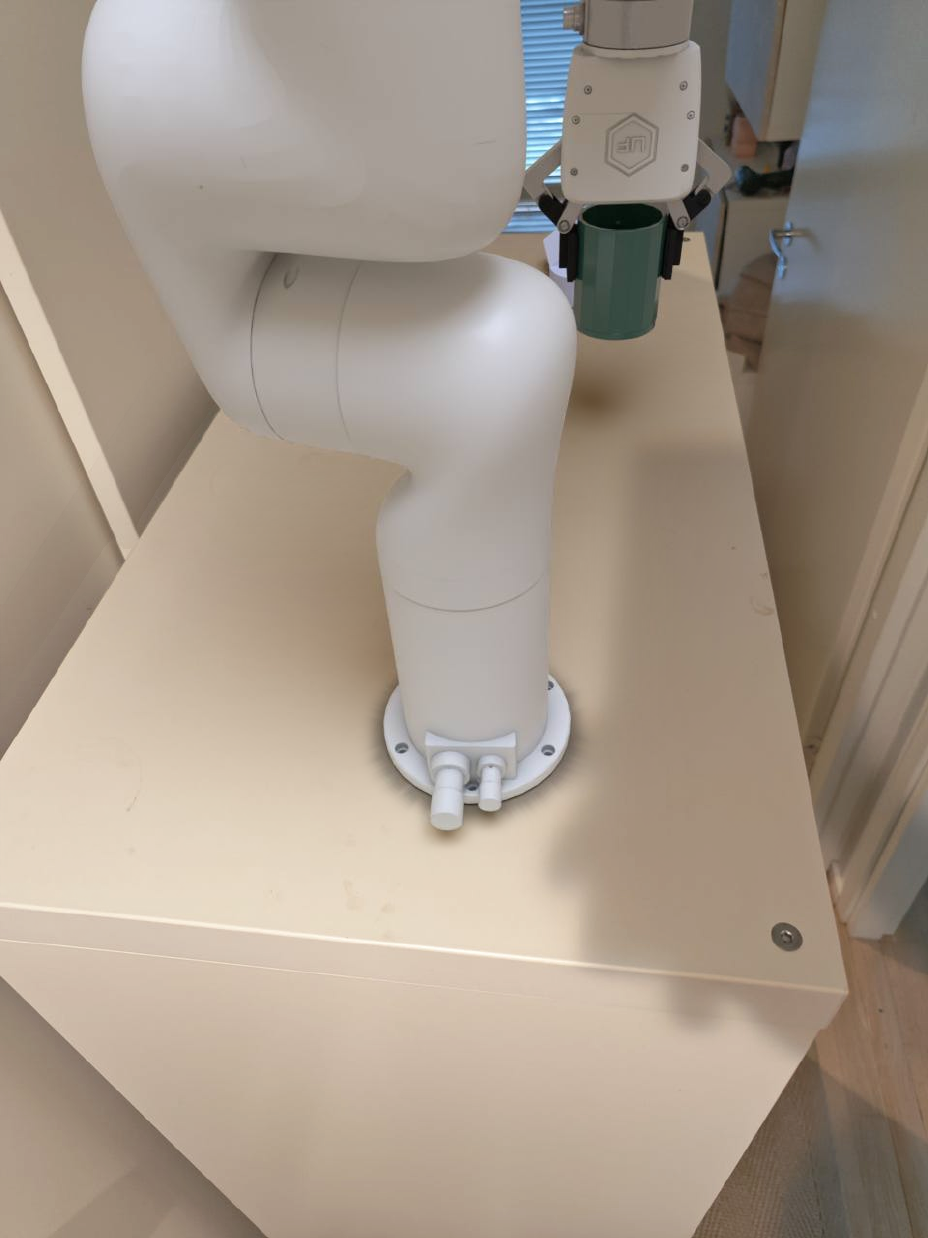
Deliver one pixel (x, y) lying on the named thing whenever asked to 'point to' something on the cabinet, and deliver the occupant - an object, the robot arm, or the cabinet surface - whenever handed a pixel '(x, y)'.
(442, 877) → the cabinet surface
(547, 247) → the wedge on round base
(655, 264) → the mug
